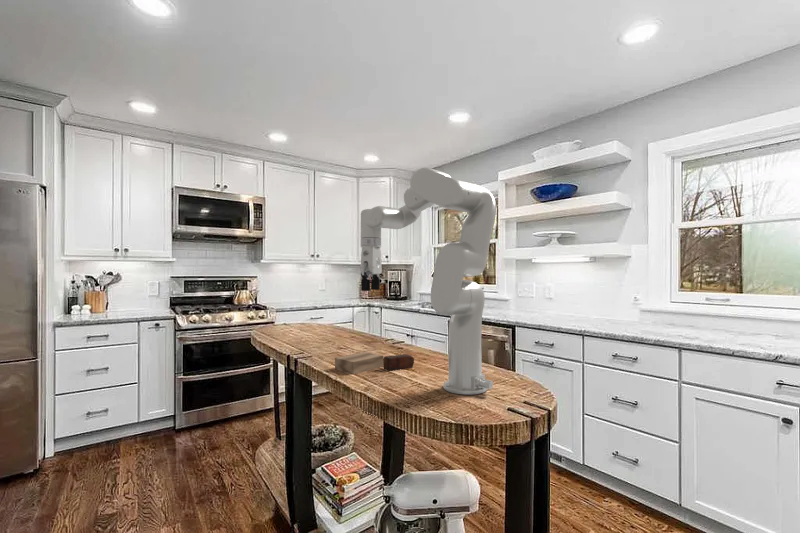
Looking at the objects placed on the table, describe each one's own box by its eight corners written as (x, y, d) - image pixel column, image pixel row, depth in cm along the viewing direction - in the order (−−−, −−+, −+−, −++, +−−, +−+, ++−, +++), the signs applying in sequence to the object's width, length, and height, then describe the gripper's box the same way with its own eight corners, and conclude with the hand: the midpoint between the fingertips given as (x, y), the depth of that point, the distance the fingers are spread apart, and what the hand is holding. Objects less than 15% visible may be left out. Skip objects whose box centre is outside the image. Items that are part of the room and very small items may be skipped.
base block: (383, 366, 145) (383, 355, 145) (353, 374, 135) (353, 362, 135) (364, 362, 152) (364, 351, 152) (334, 369, 142) (334, 357, 142)
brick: (389, 372, 139) (389, 358, 139) (383, 369, 142) (383, 356, 142) (414, 368, 144) (414, 354, 144) (407, 365, 148) (408, 353, 148)
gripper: (372, 241, 138) (371, 291, 138) (388, 244, 155) (387, 289, 155) (351, 242, 141) (351, 291, 141) (369, 244, 157) (369, 288, 157)
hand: (370, 290), depth 148 cm, fingers open, 9 cm apart
